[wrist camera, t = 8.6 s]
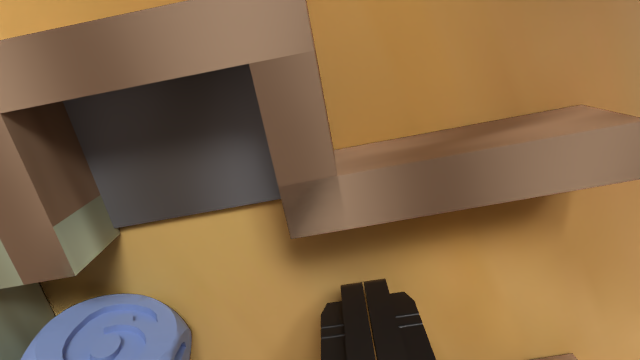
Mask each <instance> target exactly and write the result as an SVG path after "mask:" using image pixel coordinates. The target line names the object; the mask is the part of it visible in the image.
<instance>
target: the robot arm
mask: <svg viewBox="0 0 640 360" xmlns="http://www.w3.org/2000/svg"><path fill="white" fill-rule="evenodd" d="M364 287H365V293H366V299H367V305H368V311H369V317H370V323H371V329H372V335H373V340H374V346H375V351H376V357H377V360H436V358H435V356H434V353H433V350H432V348H431V345H430V342H429V339H428V337H427V334H426V331H425V329H424V326H423V324H422V320H421V318H420V315H419V312H418V310H417V307H416V304H415V301H414V300H413V299H412V298H411V297H409V296H408V295H407V294H406V293H405V292H398V293H392V294H389V290H388V287H387V283H386V280H385V279H379V280H372V281H365V282H364ZM341 297H342V301H339V302H332V303H327V305H326V306H325V308H324V310H323V312H322V314H321V360H375V354H374V348H373V343H372V337H371V331H370V326H369V320H368V314H367V309H366V303H365V297H364V292H363V286H362V282H359V283H353V284H346V285H341Z"/></svg>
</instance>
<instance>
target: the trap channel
mask: <svg viewBox="0 0 640 360" xmlns="http://www.w3.org/2000/svg"><path fill="white" fill-rule="evenodd" d="M639 179H640V118H639V117H635V116H630V115H626V114H621V113H617V112H612V111H607V110H603V109H598V108H594V107H589V106H585V105H577V106H571V107H566V108H561V109H555V110H550V111H544V112H539V113H533V114H528V115H522V116H517V117H512V118H506V119H501V120H495V121H490V122H484V123H479V124H474V125H468V126H463V127H457V128H452V129H446V130H441V131H436V132H430V133H425V134H419V135H414V136H408V137H403V138H398V139H392V140H387V141H381V142H376V143H370V144H365V145H359V146H354V147H349V148H343V149H338V150H334V149H333V144H332V138H331V133H330V128H329V122H328V117H327V111H326V106H325V100H324V95H323V89H322V84H321V78H320V73H319V67H318V62H317V57H316V51H315V46H314V40H313V35H312V29H311V24H310V18H309V13H308V7H307V2H306V0H188V1H183V2H178V3H173V4H169V5H164V6H159V7H155V8H150V9H145V10H140V11H136V12H131V13H126V14H122V15H117V16H112V17H107V18H103V19H98V20H93V21H89V22H84V23H79V24H75V25H70V26H65V27H60V28H56V29H51V30H46V31H42V32H37V33H32V34H27V35H23V36H18V37H13V38H9V39H4V40H0V360H21V358H22V356H23V354H24V353H25V351H26V349H27V348H28V346H29V345H30V343H31V342H32V341H33V339H34V338H35V336H36V335H37V334H38V333H39V331H40V330H41V329H42V328H43V327H44V326H45V325H46V324H47V323H48V322H49V321H50V320H52V319H53V318H54V317H55V315H54V313H53V311H52V309H51V307H50V305H49V303H48V301H47V299H46V297H45V295H44V293H43V291H42V289H41V287H40V285H39V283H38V282H44V281H49V280H55V279H61V278H67V277H73V276H76V275H77V274H78V273H79V272H80V271H81V270H82V269H83V268H85V267H86V266H87V265H88V264H89V263H90V262H91V261H92V260H93V259H94V258H95V257H96V256H97V255H98V254H99V253H100V252H102V251H103V250H104V249H105V248H106V247H107V246H108V245H109V244H110V243H111V242H112V241H113V240H114V239H115V238H116V237H117V236H119V235H120V231H119V229H118V228H119V227H125V226H131V225H136V224H142V223H148V222H153V221H159V220H164V219H170V218H176V217H181V216H187V215H193V214H198V213H204V212H209V211H215V210H221V209H226V208H232V207H237V206H243V205H249V204H254V203H260V202H266V201H271V200H277V199H281V200H282V204H283V208H284V212H285V216H286V221H287V225H288V229H289V233H290V237H291V239H295V238H300V237H306V236H312V235H318V234H324V233H330V232H335V231H341V230H347V229H353V228H359V227H365V226H371V225H376V224H382V223H388V222H394V221H400V220H406V219H411V218H417V217H423V216H429V215H435V214H441V213H446V212H452V211H458V210H464V209H470V208H476V207H481V206H487V205H493V204H499V203H505V202H511V201H516V200H522V199H528V198H534V197H540V196H546V195H551V194H557V193H563V192H569V191H575V190H581V189H586V188H592V187H598V186H604V185H610V184H616V183H622V182H627V181H633V180H639ZM531 360H577V358H576V357H575V356H574V355H573V353H572V354H565V355H559V356H552V357H545V358H538V359H531Z"/></svg>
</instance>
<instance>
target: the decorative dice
mask: <svg viewBox="0 0 640 360" xmlns="http://www.w3.org/2000/svg"><path fill="white" fill-rule="evenodd" d="M191 342H192V337H191V331H190V329H189V327H188V326H187V324H186V323H185V321H184V320H183V319H182V318H181V317H180V316H179V315H178V314H177V313H176V312H175V311H174V310H173V309H171V308H170V307H168V306H167V305H165V304H163V303H162V302H160V301H158V300H156V299H153V298H150V297H147V296H143V295H137V294H112V295H105V296H100V297H96V298H92V299H89V300H86V301H83V302H81V303H78V304H76V305H74V306H72V307H70V308H68V309H66V310H65V311H63V312H62V313H60V314H59V315H57V316H56V317H54V318H53V319H52V320H50V321H49V322H48V323H47V324H46V325H45V326H44V327H43V328H42V329H41V330H40V331H39V333H38V334H37V335H36V336H35V338H34V339H33V341H32V342H31V343H30V345H29V346H28V348H27V349H26V351H25V353H24V354H23V356H22V358H21V360H189V359H190V353H191Z"/></svg>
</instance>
